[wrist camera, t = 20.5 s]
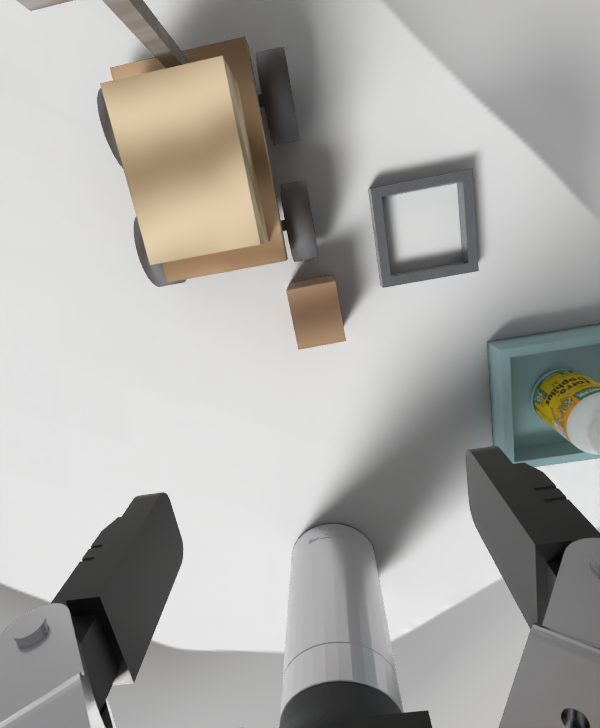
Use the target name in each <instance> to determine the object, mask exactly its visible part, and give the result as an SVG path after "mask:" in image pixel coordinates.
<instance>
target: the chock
mask: <svg viewBox="0 0 600 728" xmlns="http://www.w3.org/2000/svg"><path fill="white" fill-rule="evenodd" d="M286 291H287V296H288V301H289V305H290V310H291V315H292V320H293V325H294V330H295V335H296V339H297V344H298V349H304V348H310V347H315V346H321V345H326V344H332V343H337V342H342V341H346V338H345V333H344V327H343V321H342V315H341V309H340V304H339V298H338V292H337V286H336V281H335V278H334V276H333V275H329V276H324V277H319V278H314V279H308V280H303V281H298V282H293V283H290V284H289V286H288V288H287V290H286Z"/></svg>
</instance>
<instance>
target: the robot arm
mask: <svg viewBox="0 0 600 728" xmlns="http://www.w3.org/2000/svg"><path fill="white" fill-rule="evenodd" d="M466 469H467V482H468V495H469V505H470V510H471V514H472V518H473V521H474V524H475V526H476V528H477V530H478V532H479V534H480V536H481V538H482V539H483V541H484V543H485V545H486V547H487V549H488V551H489V553H490V554H491V556H492V558H493V560H494V562H495V564H496V566H497V567H498V569H499V571H500V573H501V575H502V577H503V579H504V580H505V582H506V584H507V586H508V588H509V590H510V592H511V594H512V595H513V597H514V599H515V601H516V603H517V605H518V606H519V608H520V610H521V612H522V614H523V616H524V618H525V620H526V621H527V623H528V625H529V627H530V629H531V630H530V633H529V636H528V639H527V642H526V645H525V649H524V651H523V654H522V658H521V661H520V664H519V667H518V670H517V673H516V676H515V679H514V683H513V685H512V688H511V691H510V694H509V698H508V701H507V704H506V707H505V710H504V713H503V716H502V719H501V722H500V725H499V728H600V533H599V532H598V531H597V530H596V528H595V527H594V526H593V525H592V524H591V523H590V522H589V521H588V520H587V519H586V518H585V517H584V516H583V515H582V513H581V512H580V511H579V510H578V509H577V508H576V507H575V506H574V505H573V504H572V503H571V502H570V501H569V500H567V499H566V496H565V495H564V494H563V493H562V492H561V491H560V490H559V489H558V488H556V486H555V484H554V483H553V482H552V481H551V480H550V479H549V478H548V477H547V476H546V475H545V474H544V473H543V472H541V471H540V470H538V469H536V468H534V467H532V466H530V465H528V464H526V463H524V462H523V463H516V464H513V463H512V462H511V461H510V460H509V458H508V457H507V456H506V455H505V454H504V452H503V451H502V450H501V449H500V448H499V447H498V446H493V447H486V448H479V449H472V450H467V451H466ZM182 559H183V542H182V538H181V535H180V531H179V528H178V525H177V522H176V518H175V515H174V512H173V509H172V506H171V502H170V499H169V497H168V495H167V494H166V493H156V494H148V495H141V496H137V497H135V498H134V499H133V501H132V502H131V504H130V505H129V507H128V508H127V510H126V511H125V513H124V514H123V516H122V517H118V518H117V519H116V520H114V521H113V522H112V523H111V524H110V525H108V526H107V527H106V528H105V529H104V530H103V531H101V533H100V534H99V536H98V537H97V539H96V540H95V541H94V543H93V544H92V546H91V549H89V550H88V551H87V553H86V554H85V556H84V557H83V558H82V562H80V563H79V564H78V565H77V567H76V568H75V570H74V571H73V573H72V574H71V575H70V577H69V578H68V580H67V581H66V582H65V584H64V585H63V587H62V588H61V590H60V591H59V592H58V594H57V595H56V597H55V598H54V599H53V601H52V602H51V604H47V605H43V606H40V607H38V608H35V609H33V610H31V611H29V612H27V613H25V614H24V615H22V616H21V617H19V618H18V619H16V620H15V621H14V622H13V623H11V624H10V625H9V626H8V627H7V628H6V629H5V630H4V631H3V633H1V635H0V728H116V726H115V723H114V719H113V716H112V712H111V709H110V706H109V704H108V701H107V699H106V698H107V696H108V693H109V691H110V689H111V687H112V685H121V684H131V683H134V681H135V679H136V676H137V674H138V671H139V669H140V666H141V664H142V661H143V659H144V656H145V654H146V651H147V649H148V646H149V644H150V641H151V639H152V636H153V634H154V631H155V629H156V626H157V624H158V621H159V619H160V616H161V614H162V611H163V609H164V606H165V604H166V601H167V599H168V596H169V594H170V591H171V589H172V586H173V584H174V581H175V579H176V576H177V574H178V571H179V569H180V566H181V563H182ZM279 728H432V725H431V721H430V717H429V712H428V711H418V712H408V713H404V712H403V707H402V701H401V696H400V691H399V685H398V680H397V675H396V669H395V664H394V659H393V653H392V648H391V642H390V636H389V631H388V625H387V620H386V614H385V609H384V603H383V598H382V592H381V587H380V580H379V575H378V570H377V564H376V559H375V553H374V549H373V547H372V545H371V543H370V541H369V540H368V539H367V537H366V536H364V535H363V534H362V533H361V532H359V531H358V530H356V529H354V528H352V527H349V526H346V525H341V524H325V525H320V526H317V527H315V528H312V529H310V530H309V531H307V532H306V533H304V534H303V535H302V536H301V537H300V538H299V539H298V540H297V542H296V544H295V546H294V548H293V552H292V561H291V575H290V586H289V600H288V614H287V627H286V641H285V655H284V669H283V685H282V699H281V713H280V727H279Z"/></svg>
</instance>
